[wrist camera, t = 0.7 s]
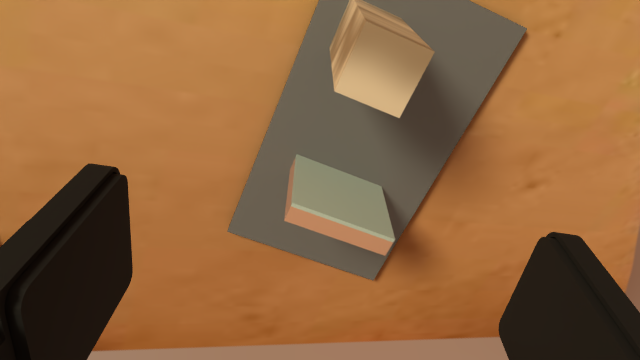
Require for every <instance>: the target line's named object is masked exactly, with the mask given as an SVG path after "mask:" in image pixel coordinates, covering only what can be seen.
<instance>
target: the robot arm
mask: <svg viewBox="0 0 640 360" xmlns="http://www.w3.org/2000/svg"><path fill="white" fill-rule="evenodd" d="M131 278H132V251H131V234H130V216H129V199H128V182H127V178H126V176H125V175H120V172H119V170H118V168H116V167H111V166H104V165H97V164H87V165H86V166H85V167H84V168H83V169H82V170H81V171H80V172H79V173H78V174H77V175H76V176H74V177H73V178H72V179H71V180H70V181H69V182H68V183H67V184H66V185H65V186H64V187H63V188H62V189H61V190H60V191H59V192H58V193H57V194H56V195H55V196H54V197H53V198H52V199H51V200H50V201H49V202H48V203H47V204H46V205H45V206H44V207H43V208H42V209H41V210H39V211H38V212H37V213H36V214H35V215H34V216H33V217H32V218H31V219H30V220H29V221H27V222H26V223H25V224H24V225H23V226H22V227H21V228H20V229H19V230H18V231H17V232H16V233H15V234H14V235H13V236H12V237H11V238H10V239H8V240H7V241H6V242H5V243H4V244H3V245H2V246H1V247H0V360H87V358H88V356H89V355H90V353H91V351H92V349H93V348H94V346H95V344H96V342H97V341H98V339H99V337H100V335H101V334H102V332H103V330H104V328H105V327H106V325H107V323H108V321H109V320H110V318H111V316H112V314H113V313H114V311H115V309H116V307H117V306H118V304H119V302H120V300H121V299H122V297H123V295H124V293H125V292H126V290H127V288H128V286H129V284H130V281H131ZM499 335H500V338H501V341H502V343H503V346H504V348H505V351H506V353H507V356H508V358H509V360H640V313H639V311H638V310H637V309H636V307H635V306H634V305H633V304H632V302H631V301H630V300H629V298H628V297H627V296H626V295H625V293H624V292H623V291H622V289H621V288H620V287H619V286H618V284H617V283H616V282H615V280H614V279H613V278H612V277H611V275H610V274H609V273H608V271H607V270H606V269H605V268H604V266H603V265H602V264H601V262H600V261H599V260H598V259H597V257H596V256H595V255H594V253H593V252H592V251H591V250H590V248H589V247H588V246H587V244H586V243H585V242H584V241H583V239H582V238H581V237H579V236H576V235H570V234H564V233H557V232H551V233H549V234H548V235H547V236H546V237H542V238H540V239H539V241H538V242H537V244H536V246H535V248H534V251H533V253H532V255H531V257H530V259H529V261H528V263H527V265H526V267H525V269H524V271H523V274H522V276H521V278H520V280H519V282H518V284H517V286H516V288H515V290H514V292H513V294H512V297H511V299H510V301H509V303H508V305H507V307H506V309H505V311H504V313H503V315H502V318H501V320H500V323H499Z"/></svg>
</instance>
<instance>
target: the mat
mask: <svg viewBox="0 0 640 360" xmlns="http://www.w3.org/2000/svg"><path fill="white" fill-rule="evenodd" d="M363 1H365V2H367V3H369V4H371V5H374V6H376V7H378V8H380V9H382V10H384V11H387V12H389V13H391V14H393V15H395V16H397V17H400V18H401V19H402V20H403V21H404V22H405V23H406V24H407V25H408V26H409V27H410V28H411V29H412V30H413V31H414V32H415V33H416V34H417V35H418V36H419V37H420V38H421V39H422V40H423V41H424V42H425V43H426V44H427V45H428V46H429V47H430V48H431V49H432V50H433V51H434V54H433V56H432V58H431V60H430V62H429V64H428V66H427V67H426V69H425V71H424V73H423V75H422V77H421V79H420V81H419V82H418V84H417V86H416V88H415V90H414V92H413V94H412V96H411V97H410V99H409V101H408V103H407V105H406V107H405V109H404V111H403V113H402V114H401V116H400V118H398V117H395V116H393V115H390V114H388V113H385V112H383V111H381V110H378V109H376V108H373V107H371V106H369V105H366V104H364V103H361V102H359V101H356V100H354V99H352V98H349V97H347V96H344V95H342V94H339V93H337V92H335V91H334V84H333V75H332V66H331V57H330V48H329V47H330V45H331V43H332V40H333V38H334V36H335V33H336V31H337V29H338V26H339V24H340V22H341V19H342V17H343V15H344V12H345V10H346V8H347V5H348V3H349V0H319V2H318V4H317V7H316V9H315V12H314V14H313V17H312V19H311V22H310V24H309V27H308V29H307V32H306V34H305V37H304V39H303V42H302V44H301V47H300V49H299V52H298V54H297V57H296V60H295V62H294V65H293V67H292V70H291V72H290V75H289V77H288V80H287V82H286V85H285V87H284V90H283V92H282V95H281V97H280V100H279V102H278V105H277V107H276V110H275V112H274V115H273V117H272V120H271V122H270V125H269V127H268V130H267V132H266V135H265V138H264V140H263V143H262V145H261V148H260V150H259V153H258V155H257V158H256V160H255V163H254V165H253V168H252V170H251V173H250V175H249V178H248V180H247V183H246V185H245V188H244V190H243V193H242V195H241V198H240V200H239V203H238V205H237V208H236V211H235V213H234V216H233V218H232V221H231V223H230V226H229V228H228V232H230V233H233V234H236V235H239V236H242V237H245V238H248V239H251V240H254V241H257V242H260V243H263V244H266V245H269V246H272V247H275V248H278V249H281V250H284V251H287V252H290V253H293V254H296V255H299V256H302V257H305V258H308V259H311V260H314V261H317V262H320V263H323V264H326V265H329V266H332V267H335V268H338V269H341V270H344V271H347V272H350V273H353V274H356V275H359V276H362V277H365V278H368V279H371V280H374V278H375V277H376V275H377V274H378V272H379V270H380V269H381V267H382V265H383V264H384V262H385V260H386V259H387V257H388V256H389V254H390V252H391V251H392V249H393V247H394V246H395V244H396V243H397V241H398V239H399V238H400V236H401V234H402V233H403V231H404V229H405V228H406V226H407V225H408V223H409V221H410V220H411V218H412V216H413V215H414V213H415V211H416V210H417V208H418V207H419V205H420V203H421V202H422V200H423V198H424V197H425V195H426V193H427V192H428V190H429V189H430V187H431V185H432V184H433V182H434V180H435V179H436V177H437V175H438V174H439V172H440V171H441V169H442V167H443V166H444V164H445V162H446V161H447V159H448V157H449V156H450V154H451V153H452V151H453V149H454V148H455V146H456V144H457V143H458V141H459V139H460V138H461V136H462V135H463V133H464V131H465V130H466V128H467V126H468V125H469V123H470V121H471V120H472V118H473V117H474V115H475V113H476V112H477V110H478V108H479V107H480V105H481V103H482V102H483V100H484V99H485V97H486V95H487V94H488V92H489V90H490V89H491V87H492V85H493V84H494V82H495V81H496V79H497V77H498V76H499V74H500V72H501V71H502V69H503V67H504V66H505V64H506V63H507V61H508V59H509V58H510V56H511V54H512V53H513V51H514V49H515V48H516V46H517V45H518V43H519V41H520V40H521V38H522V36H523V35H524V33H525V31H526V30H527V28H525V27H523V26H521V25H519V24H517V23H514V22H512V21H510V20H508V19H506V18H504V17H502V16H500V15H498V14H496V13H494V12H492V11H490V10H488V9H486V8H483V7H481V6H479V5H477V4H475V3H473V2H471V1H469V0H363ZM297 154H298V155H300V156H303V157H305V158H308V159H311V160H313V161H316V162H319V163H321V164H324V165H327V166H329V167H332V168H334V169H337V170H340V171H342V172H345V173H348V174H350V175H353V176H356V177H358V178H361V179H363V180H366V181H369V182H371V183H374V184H377V185H379V186H382V190H383V194H384V198H385V202H386V206H387V210H388V214H389V217H390V221H391V225H392V229H393V233H394V237H395V241H394V242H393V244H392V246H391V247H390V249H389V250H388V252H387V254H386V255H385V256H384V255H381V254H378V253H376V252H373V251H370V250H367V249H364V248H361V247H358V246H355V245H353V244H350V243H347V242H344V241H341V240H338V239H335V238H332V237H330V236H327V235H324V234H321V233H318V232H315V231H312V230H309V229H307V228H304V227H301V226H298V225H295V224H292V223H289V222H286V221H284V218H285V209H286V200H287V191H288V182H289V174H290V168H291V166H292V164H293V162H294V159H295V157H296V155H297Z"/></svg>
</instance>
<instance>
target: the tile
mask: <svg viewBox="0 0 640 360" xmlns="http://www.w3.org/2000/svg"><path fill="white" fill-rule="evenodd" d="M284 221H286V222H289V223H292V224H295V225H298V226H301V227H304V228H307V229H309V230H312V231H315V232H318V233H321V234H324V235H327V236H330V237H332V238H335V239H338V240H341V241H344V242H347V243H350V244H353V245H355V246H358V247H361V248H364V249H367V250H370V251H373V252H376V253H378V254H381V255H384V256H385V255H386V254H387V252H388V250H389V249H390V247H391V246H392V244H393V242H394V241H395V237H394V233H393V229H392V225H391V221H390V217H389V214H388V210H387V206H386V202H385V198H384V194H383V190H382V186H379V185H377V184H374V183H371V182H369V181H366V180H363V179H361V178H358V177H356V176H353V175H350V174H348V173H345V172H342V171H340V170H337V169H334V168H332V167H329V166H327V165H324V164H321V163H319V162H316V161H313V160H311V159H308V158H305V157H303V156H300V155H298V154H297V155H296V157H295V159H294V162H293V164H292V166H291V168H290V174H289V182H288V191H287V200H286V209H285V218H284Z"/></svg>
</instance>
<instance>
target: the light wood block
mask: <svg viewBox="0 0 640 360" xmlns="http://www.w3.org/2000/svg"><path fill="white" fill-rule="evenodd" d="M329 48H330V57H331V66H332V75H333V84H334V91H335V92H337V93H339V94H342V95H344V96H347V97H349V98H352V99H354V100H356V101H359V102H361V103H364V104H366V105H369V106H371V107H373V108H376V109H378V110H381V111H383V112H385V113H388V114H390V115H393V116H395V117H398V118H400V116H401V114H402V113H403V111H404V109H405V107H406V105H407V103H408V101H409V99H410V97H411V96H412V94H413V92H414V90H415V88H416V86H417V84H418V82H419V81H420V79H421V77H422V75H423V73H424V71H425V69H426V67H427V66H428V64H429V62H430V60H431V58H432V56H433V54H434V51H433V50H432V49H431V48H430V47H429V46H428V45H427V44H426V43H425V42H424V41H423V40H422V39H421V38H420V37H419V36H418V35H417V34H416V33H415V32H414V31H413V30H412V29H411V28H410V27H409V26H408V25H407V24H406V23H405V22H404V21H403V20H402V19H401V18H400V17H397V16H395V15H393V14H391V13H389V12H387V11H384V10H382V9H380V8H378V7H376V6H374V5H371V4H369V3H367V2H365V1H363V0H349V3H348V5H347V8H346V10H345V12H344V15H343V17H342V19H341V22H340V24H339V26H338V29H337V31H336V33H335V36H334V38H333V40H332V43H331V45H330V47H329Z"/></svg>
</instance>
